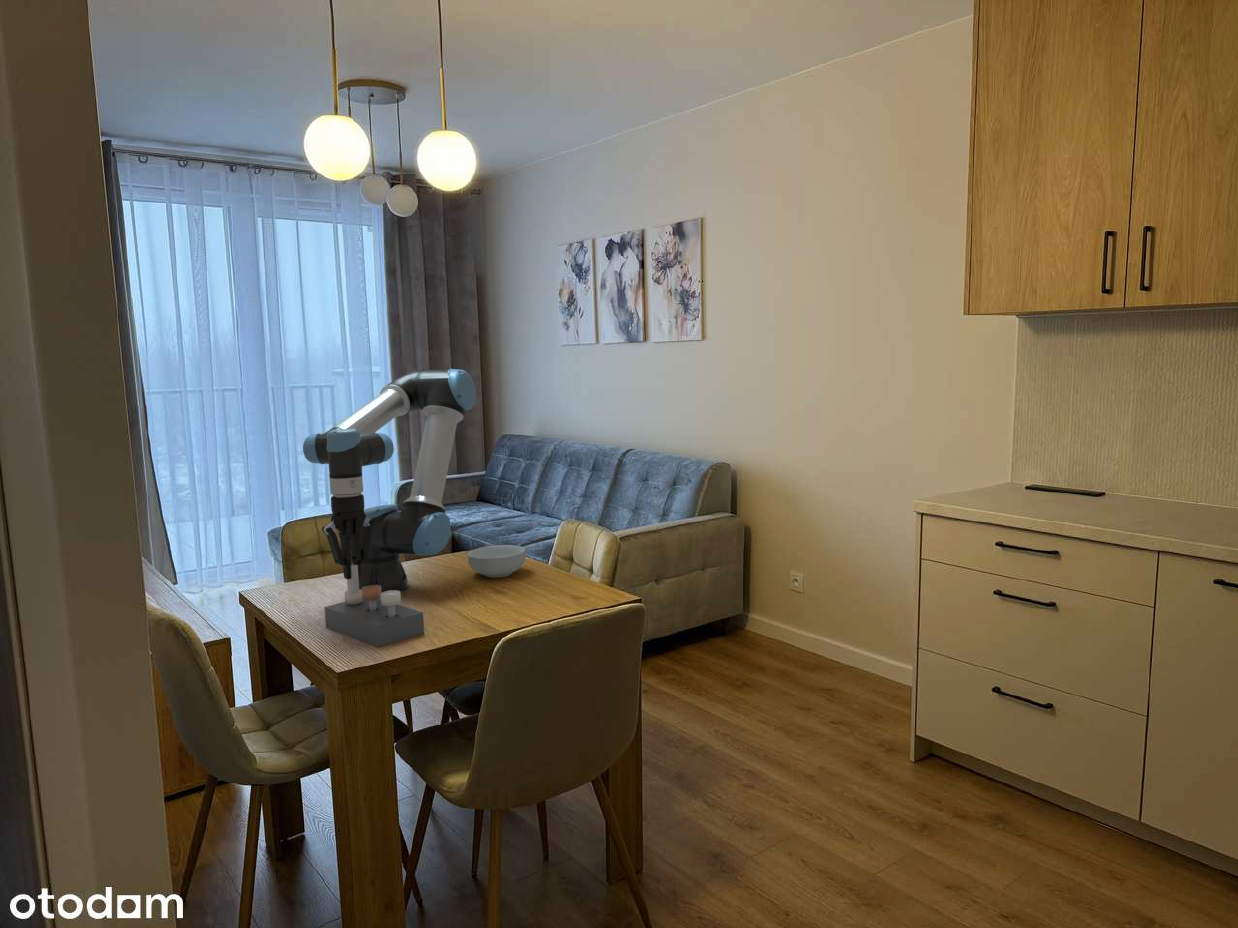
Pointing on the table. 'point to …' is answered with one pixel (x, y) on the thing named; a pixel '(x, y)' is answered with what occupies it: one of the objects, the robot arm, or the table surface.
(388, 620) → the knob panel
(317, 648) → the table surface
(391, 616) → the cream knob
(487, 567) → the cereal bowl
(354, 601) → the cream knob
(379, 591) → the rust knob middle
